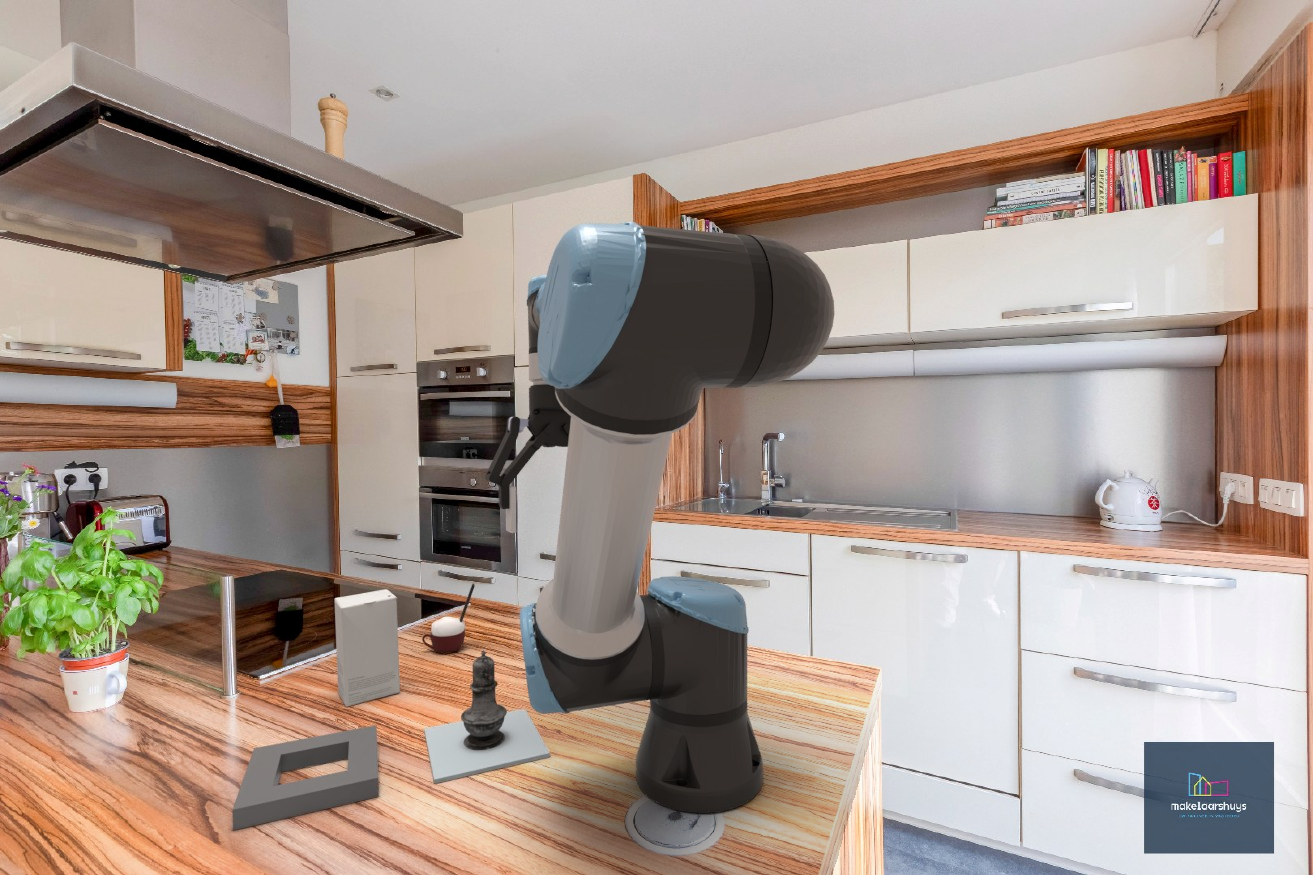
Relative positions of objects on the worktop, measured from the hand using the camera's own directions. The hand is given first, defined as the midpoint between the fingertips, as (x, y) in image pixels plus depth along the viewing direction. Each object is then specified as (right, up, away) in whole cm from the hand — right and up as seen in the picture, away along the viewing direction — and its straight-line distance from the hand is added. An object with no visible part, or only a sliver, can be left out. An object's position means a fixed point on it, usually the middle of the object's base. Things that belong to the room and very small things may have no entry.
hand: (556, 527), depth 94 cm
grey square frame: (-26, -28, -18) cm, 42 cm away
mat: (-8, -27, -10) cm, 30 cm away
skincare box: (-31, -27, +6) cm, 42 cm away
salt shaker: (-8, -27, -10) cm, 30 cm away
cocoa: (-24, -27, +26) cm, 44 cm away
